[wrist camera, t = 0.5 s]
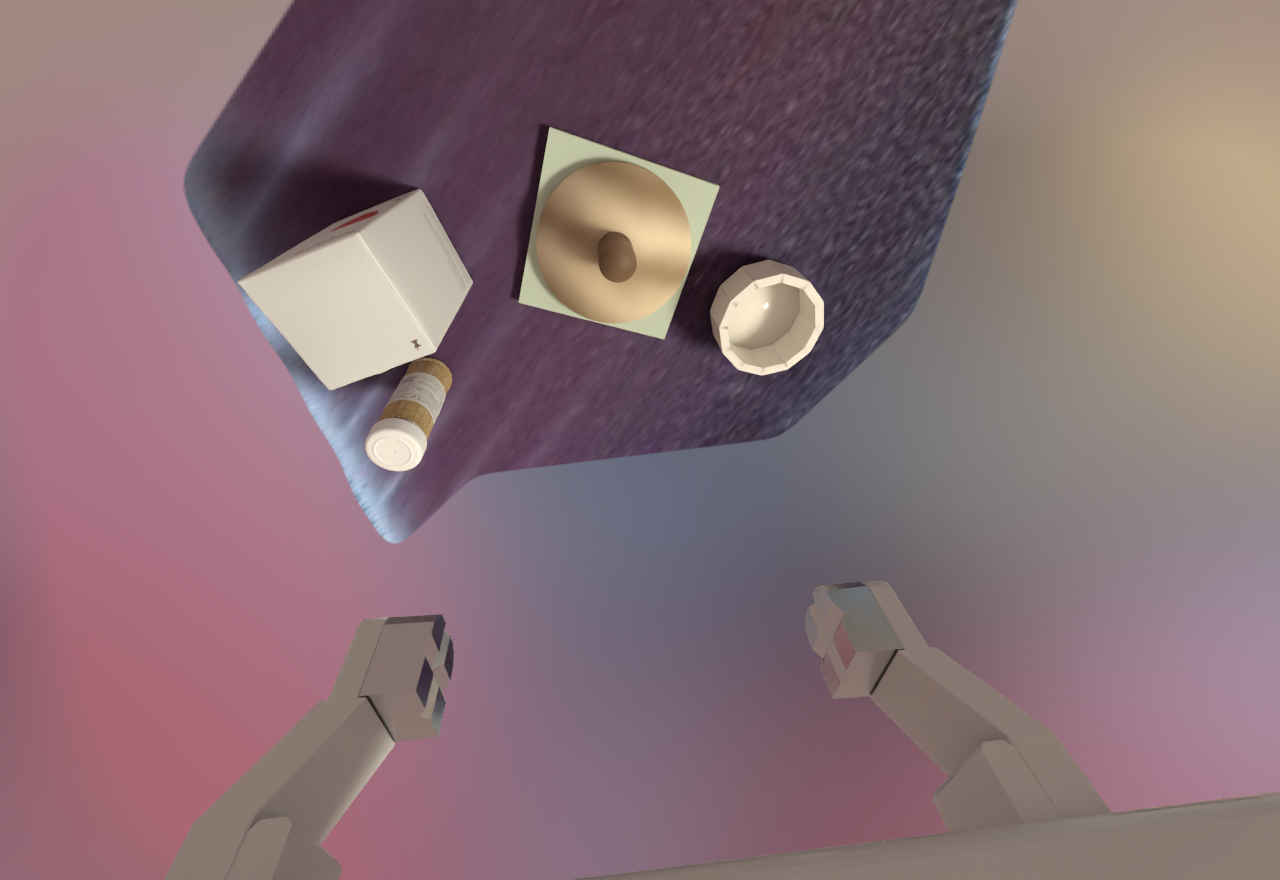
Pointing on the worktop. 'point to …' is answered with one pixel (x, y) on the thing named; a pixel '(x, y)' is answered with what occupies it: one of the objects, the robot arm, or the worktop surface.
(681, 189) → the mat
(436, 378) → the sprinkles bottle
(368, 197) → the worktop surface
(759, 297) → the bowl
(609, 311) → the lid
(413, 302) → the supplement box
